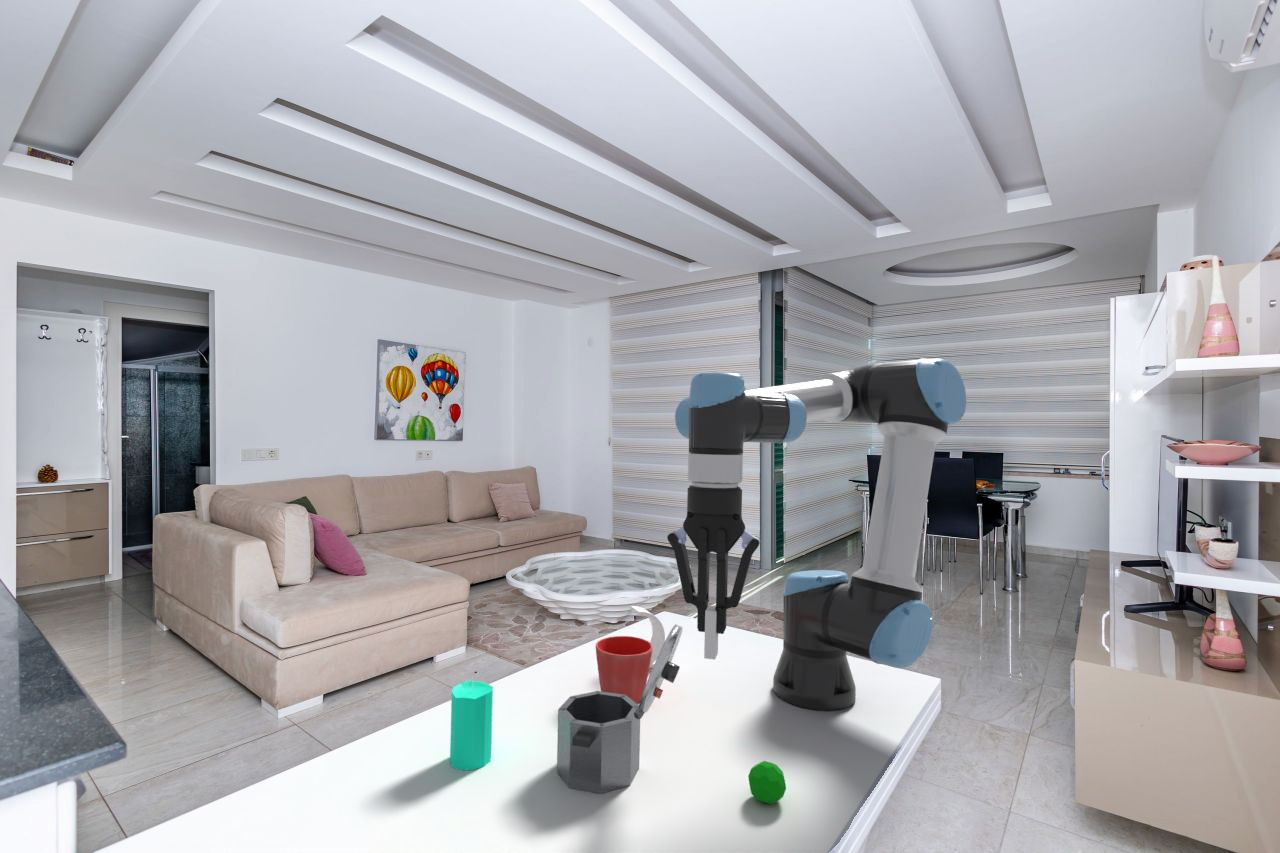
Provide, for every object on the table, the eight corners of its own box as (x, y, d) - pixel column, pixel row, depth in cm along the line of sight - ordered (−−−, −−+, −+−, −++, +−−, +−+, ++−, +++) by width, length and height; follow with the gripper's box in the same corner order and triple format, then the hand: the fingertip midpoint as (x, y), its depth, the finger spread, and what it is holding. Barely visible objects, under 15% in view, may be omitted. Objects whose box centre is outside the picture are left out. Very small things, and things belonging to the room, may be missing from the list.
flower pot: (653, 686, 121) (654, 636, 121) (649, 712, 110) (650, 656, 110) (599, 683, 122) (600, 633, 122) (589, 708, 111) (590, 653, 111)
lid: (648, 691, 95) (668, 702, 94) (624, 728, 83) (647, 740, 82) (679, 612, 94) (699, 622, 93) (659, 638, 82) (682, 649, 81)
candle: (447, 753, 94) (449, 673, 94) (487, 746, 97) (489, 668, 97) (452, 773, 89) (454, 689, 89) (495, 765, 91) (496, 683, 91)
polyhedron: (793, 804, 83) (794, 768, 83) (766, 815, 81) (767, 778, 81) (766, 786, 87) (767, 751, 88) (740, 796, 85) (741, 760, 85)
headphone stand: (629, 662, 133) (630, 606, 133) (655, 659, 135) (656, 603, 135) (638, 670, 129) (639, 612, 129) (664, 666, 131) (665, 609, 131)
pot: (648, 751, 96) (649, 692, 96) (618, 806, 82) (620, 737, 82) (581, 740, 99) (582, 683, 99) (541, 791, 85) (542, 725, 85)
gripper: (764, 484, 88) (761, 651, 88) (674, 480, 92) (670, 641, 92) (760, 489, 81) (756, 671, 81) (662, 484, 85) (658, 659, 84)
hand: (711, 655), depth 86 cm, fingers closed
